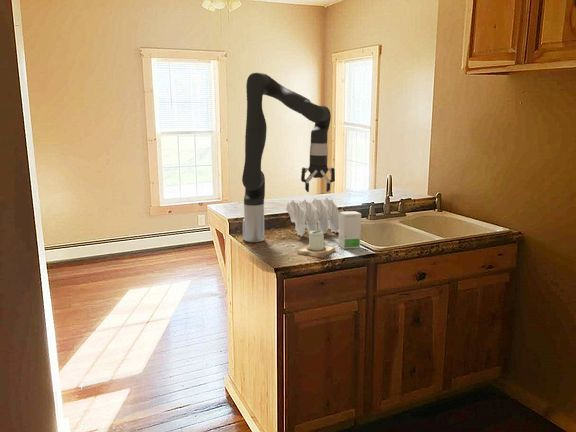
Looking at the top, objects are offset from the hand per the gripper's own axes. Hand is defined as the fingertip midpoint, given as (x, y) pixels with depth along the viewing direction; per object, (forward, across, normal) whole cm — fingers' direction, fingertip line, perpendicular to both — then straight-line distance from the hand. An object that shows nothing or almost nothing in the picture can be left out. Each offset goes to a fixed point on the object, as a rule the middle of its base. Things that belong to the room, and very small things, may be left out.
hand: (317, 191), depth 217 cm
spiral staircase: (+26, -3, -25) cm, 36 cm away
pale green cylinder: (+24, +1, +6) cm, 24 cm away
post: (+25, +1, +6) cm, 26 cm away
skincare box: (+25, -15, -1) cm, 29 cm away
